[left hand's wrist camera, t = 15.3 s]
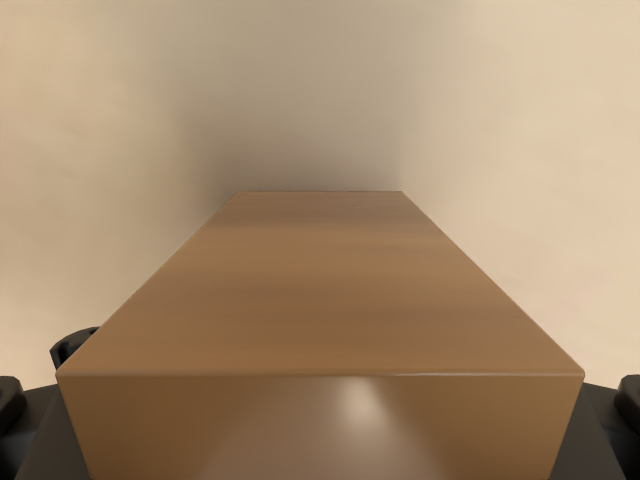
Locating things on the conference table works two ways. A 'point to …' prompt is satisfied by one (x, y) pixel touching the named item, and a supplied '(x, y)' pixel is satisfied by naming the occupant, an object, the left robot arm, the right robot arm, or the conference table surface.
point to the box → (320, 355)
